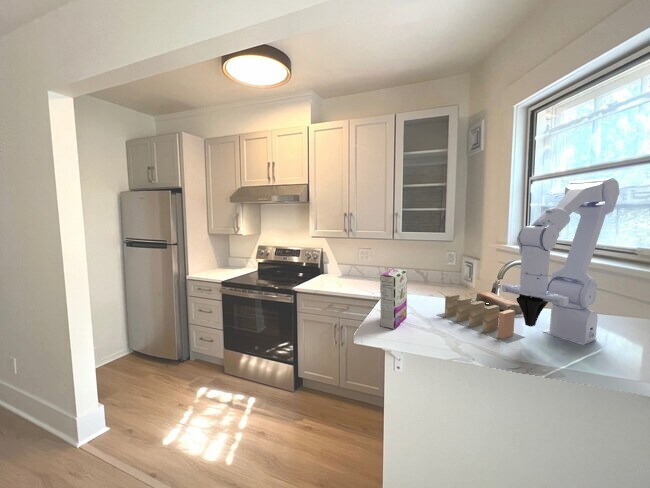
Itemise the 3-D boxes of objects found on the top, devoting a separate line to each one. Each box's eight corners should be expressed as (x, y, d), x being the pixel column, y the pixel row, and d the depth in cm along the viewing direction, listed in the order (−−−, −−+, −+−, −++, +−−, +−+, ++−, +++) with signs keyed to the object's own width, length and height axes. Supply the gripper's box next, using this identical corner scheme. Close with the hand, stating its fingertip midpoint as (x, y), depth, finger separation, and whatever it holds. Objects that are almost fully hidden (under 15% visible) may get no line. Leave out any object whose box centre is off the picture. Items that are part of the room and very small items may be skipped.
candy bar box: (392, 315, 98) (393, 268, 96) (406, 318, 95) (408, 269, 94) (379, 326, 89) (379, 274, 87) (394, 330, 86) (395, 276, 84)
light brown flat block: (498, 329, 85) (499, 306, 84) (487, 332, 83) (488, 308, 82) (493, 327, 86) (494, 304, 86) (482, 330, 84) (483, 307, 83)
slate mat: (525, 338, 80) (525, 337, 80) (507, 344, 76) (507, 343, 76) (452, 312, 101) (452, 311, 101) (435, 316, 98) (435, 314, 98)
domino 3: (483, 324, 89) (484, 302, 88) (472, 327, 87) (474, 304, 86) (479, 322, 90) (480, 300, 90) (468, 325, 88) (469, 303, 87)
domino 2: (470, 319, 93) (471, 298, 92) (460, 322, 91) (461, 300, 90) (466, 318, 94) (467, 297, 94) (456, 320, 92) (457, 299, 91)
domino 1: (458, 315, 97) (459, 294, 96) (448, 317, 95) (449, 296, 94) (455, 313, 98) (455, 293, 98) (444, 316, 96) (445, 295, 95)
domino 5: (513, 335, 81) (515, 310, 80) (502, 338, 79) (504, 313, 78) (508, 333, 82) (509, 309, 82) (497, 336, 80) (499, 312, 79)
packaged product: (471, 291, 112) (495, 290, 113) (470, 303, 112) (494, 302, 113) (505, 306, 94) (533, 305, 95) (504, 320, 94) (532, 319, 95)
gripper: (496, 269, 78) (493, 318, 79) (559, 280, 65) (554, 338, 67) (512, 267, 81) (508, 314, 83) (575, 277, 68) (570, 333, 70)
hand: (530, 325), depth 75 cm, fingers closed
